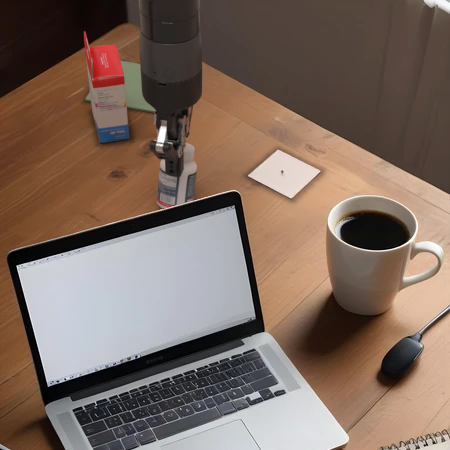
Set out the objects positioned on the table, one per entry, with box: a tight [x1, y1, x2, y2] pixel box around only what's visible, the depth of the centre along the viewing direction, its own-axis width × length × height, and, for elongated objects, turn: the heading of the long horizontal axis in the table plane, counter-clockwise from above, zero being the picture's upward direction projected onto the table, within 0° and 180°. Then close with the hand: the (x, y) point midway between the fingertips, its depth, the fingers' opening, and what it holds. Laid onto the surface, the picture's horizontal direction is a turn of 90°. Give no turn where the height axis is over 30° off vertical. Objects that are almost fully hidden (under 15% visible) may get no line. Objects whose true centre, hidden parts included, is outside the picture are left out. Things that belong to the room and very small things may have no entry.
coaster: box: [247, 149, 322, 199], centre depth 126 cm, size 8×8×1 cm
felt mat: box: [84, 60, 155, 114], centre depth 139 cm, size 12×12×1 cm
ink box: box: [83, 31, 131, 144], centre depth 127 cm, size 8×5×15 cm, turn 14°
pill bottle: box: [156, 142, 198, 210], centre depth 118 cm, size 5×5×9 cm
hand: (174, 173), depth 114 cm, fingers closed
